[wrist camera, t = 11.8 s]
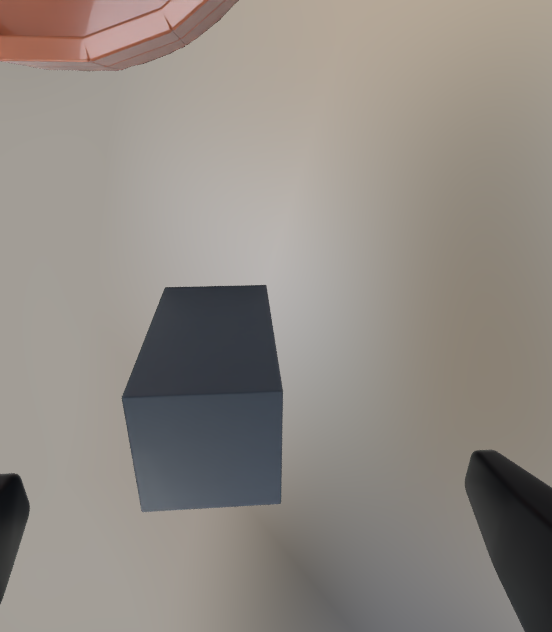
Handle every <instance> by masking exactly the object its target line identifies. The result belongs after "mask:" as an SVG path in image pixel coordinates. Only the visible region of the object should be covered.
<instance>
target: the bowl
mask: <svg viewBox="0 0 552 632" xmlns="http://www.w3.org/2000/svg"><path fill="white" fill-rule="evenodd" d="M237 1H239V0H0V61H3V62H8V63H14V64H20V65H25V66H30V67H35V68H42V69H47V70H80V71H98V70H108V71H109V70H110V71H118V70H123V69H126V68H128V67H131V66H135V65H139V64H144V63H147V62H149V61H152V60H155V59H157V58H160V57H163V56H165V55H167V54H170V53H172V52H174V51H176V50H178V49H180V48H183V47H185V45H188V44H189V43H190V42H191V41H193V40H195V39H196V38H198V37H199V36H200V35H201V34H203V33H204V32H205V31H207V30H208V29H209V28H210V27H212V26H213V25H214V24H215V23H217V22H218V21H219V20H220V19H221V18H222V17H223V16H224V15H225V14H226V13H227V12H228V11H229V10H230V8H231V7H232V6H233V5H234V4H235V3H236V2H237Z"/></svg>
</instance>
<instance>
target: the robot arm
mask: <svg viewBox="0 0 552 632" xmlns="http://www.w3.org/2000/svg"><path fill="white" fill-rule="evenodd" d="M465 488H466V492H467V495H468V498H469V501H470V504H471V506H472V509H473V512H474V515H475V517H476V520H477V523H478V525H479V528H480V531H481V534H482V536H483V539H484V542H485V545H486V547H487V550H488V553H489V556H490V558H491V561H492V563H493V566H494V568H495V570H496V572H497V574H498V577H499V579H500V581H501V583H502V585H503V587H504V589H505V591H506V593H507V596H508V598H509V600H510V602H511V604H512V606H513V608H514V610H515V612H516V614H517V616H518V619H519V621H520V623H521V625H522V627H523V629H524V631H525V632H552V488H551V487H550V486H548V485H547V484H545V483H544V482H542V481H540V480H539V479H538V478H536V477H535V476H533V475H532V474H530V473H529V472H527V471H526V470H524V469H522V468H521V467H520V466H518V465H516V464H515V463H514V462H512V461H510V460H509V459H507V458H506V457H504V456H503V455H501V454H500V453H498V452H496V451H494V450H478V451H474V452H473V453H472V455H471V458H470V462H469V466H468V470H467V473H466V477H465ZM29 509H30V506H29V501H28V498H27V495H26V492H25V489H24V486H23V483H22V480H21V478H20V476H19V475H18V474H15V473H11V474H0V604H1V601H2V599H3V596H4V593H5V590H6V587H7V584H8V581H9V577H10V574H11V571H12V568H13V565H14V561H15V558H16V555H17V552H18V549H19V545H20V542H21V539H22V536H23V532H24V529H25V526H26V523H27V520H28V516H29V511H30V510H29Z"/></svg>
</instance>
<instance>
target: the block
mask: <svg viewBox="0 0 552 632" xmlns="http://www.w3.org/2000/svg"><path fill="white" fill-rule="evenodd" d="M122 402H123V408H124V414H125V419H126V425H127V431H128V436H129V442H130V448H131V453H132V459H133V465H134V471H135V476H136V482H137V487H138V493H139V499H140V505H141V510H142V512H151V511H166V510H185V509H202V508H219V507H236V506H253V505H270V504H280V503H281V474H282V470H281V469H282V412H283V389H282V383H281V377H280V371H279V364H278V357H277V351H276V345H275V339H274V332H273V326H272V319H271V313H270V306H269V300H268V294H267V288H266V285H255V286H254V285H253V286H252V285H251V286H209V287H166V288H165V289H164V292H163V294H162V297H161V299H160V302H159V305H158V307H157V309H156V312H155V314H154V317H153V320H152V322H151V325H150V327H149V330H148V332H147V335H146V338H145V340H144V343H143V345H142V347H141V350H140V353H139V355H138V358H137V360H136V363H135V365H134V368H133V371H132V373H131V376H130V378H129V381H128V383H127V386H126V388H125V391H124V393H123V396H122Z"/></svg>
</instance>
